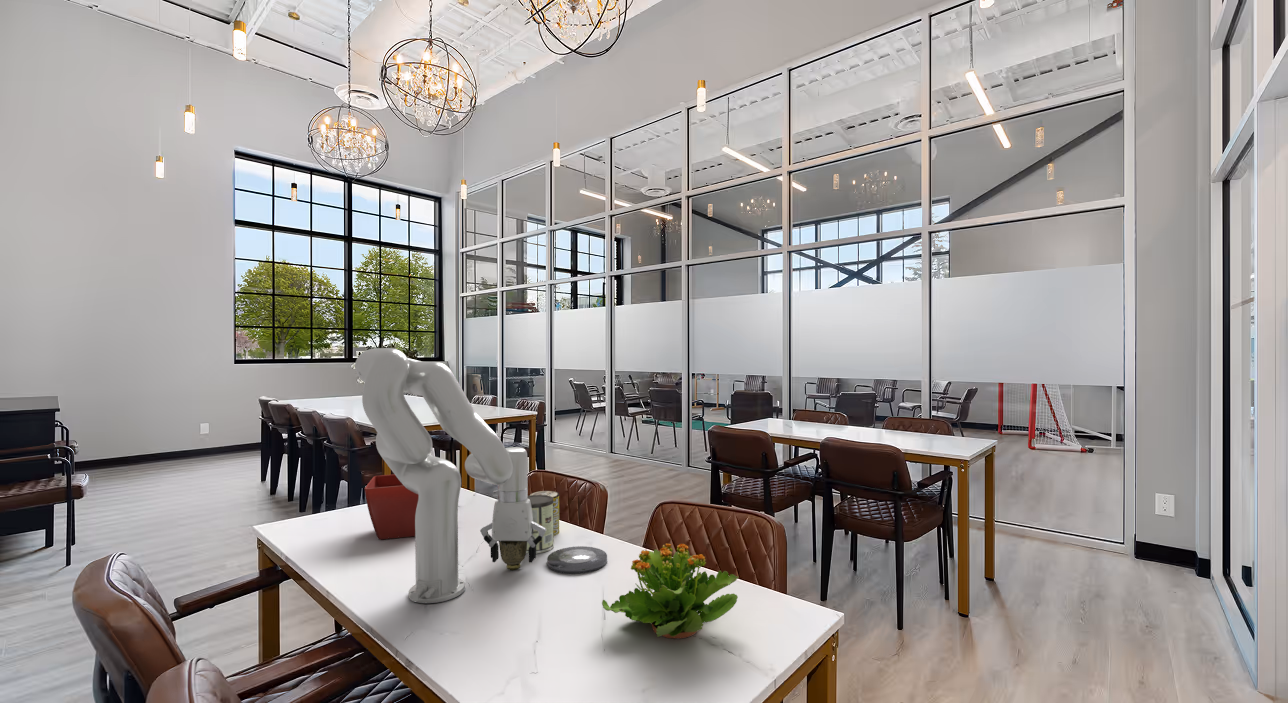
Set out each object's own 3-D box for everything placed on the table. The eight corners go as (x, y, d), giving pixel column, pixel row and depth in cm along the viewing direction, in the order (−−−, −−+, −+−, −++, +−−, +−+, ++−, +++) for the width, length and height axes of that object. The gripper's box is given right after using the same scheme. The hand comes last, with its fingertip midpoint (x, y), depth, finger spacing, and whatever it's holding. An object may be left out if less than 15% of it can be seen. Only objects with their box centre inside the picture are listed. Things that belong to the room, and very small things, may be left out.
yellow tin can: (525, 535, 174) (524, 497, 174) (538, 527, 183) (538, 490, 183) (551, 538, 171) (551, 499, 171) (564, 529, 180) (563, 492, 180)
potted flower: (669, 591, 133) (668, 517, 133) (760, 621, 118) (759, 538, 118) (595, 633, 113) (594, 546, 113) (692, 675, 98) (691, 575, 98)
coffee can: (524, 541, 169) (523, 494, 169) (557, 542, 168) (557, 494, 168) (512, 553, 159) (512, 503, 159) (548, 554, 158) (548, 504, 158)
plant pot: (374, 526, 185) (373, 475, 185) (436, 520, 191) (435, 470, 191) (364, 545, 167) (363, 488, 167) (432, 538, 172) (432, 483, 172)
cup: (524, 574, 144) (524, 543, 144) (495, 574, 144) (495, 543, 144) (530, 563, 151) (530, 533, 151) (503, 563, 151) (503, 533, 151)
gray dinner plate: (603, 574, 143) (603, 567, 143) (541, 573, 144) (541, 566, 144) (610, 551, 159) (610, 545, 159) (554, 551, 160) (554, 545, 160)
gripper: (475, 499, 144) (476, 565, 144) (542, 499, 143) (542, 566, 143) (485, 491, 152) (485, 555, 152) (548, 492, 151) (549, 555, 151)
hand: (513, 560), depth 148 cm, fingers open, 9 cm apart
